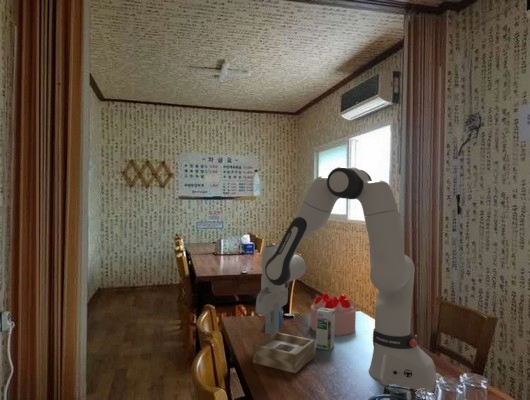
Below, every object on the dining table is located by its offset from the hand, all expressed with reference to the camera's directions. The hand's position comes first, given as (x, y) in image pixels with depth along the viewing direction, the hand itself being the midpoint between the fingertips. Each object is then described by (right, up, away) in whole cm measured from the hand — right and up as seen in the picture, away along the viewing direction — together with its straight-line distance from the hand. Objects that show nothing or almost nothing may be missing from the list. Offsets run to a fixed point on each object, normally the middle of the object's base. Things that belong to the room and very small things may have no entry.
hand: (272, 320), depth 153 cm
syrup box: (+20, -9, -4) cm, 23 cm away
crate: (+4, -9, -16) cm, 19 cm away
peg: (0, -5, 0) cm, 5 cm away
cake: (+27, -10, +19) cm, 34 cm away
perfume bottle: (+1, -9, +22) cm, 24 cm away
